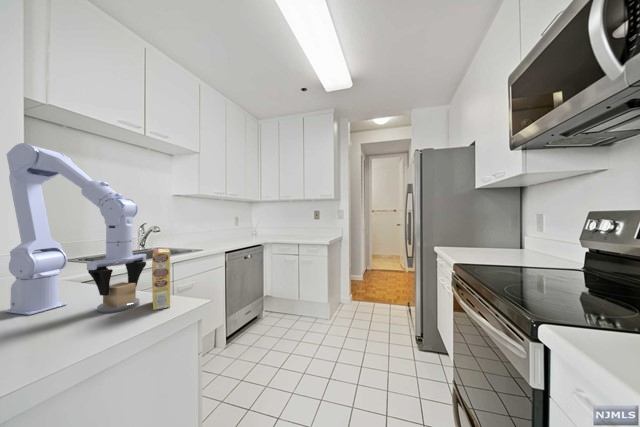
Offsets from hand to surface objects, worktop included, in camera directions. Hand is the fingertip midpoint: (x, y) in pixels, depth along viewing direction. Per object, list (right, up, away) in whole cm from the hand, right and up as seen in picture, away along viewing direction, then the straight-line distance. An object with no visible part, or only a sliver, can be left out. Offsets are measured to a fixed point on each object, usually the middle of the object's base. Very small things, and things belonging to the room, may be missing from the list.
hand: (119, 290), depth 68 cm
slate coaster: (0, -4, 0) cm, 4 cm away
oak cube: (0, -3, 0) cm, 3 cm away
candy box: (+11, -5, +1) cm, 12 cm away
